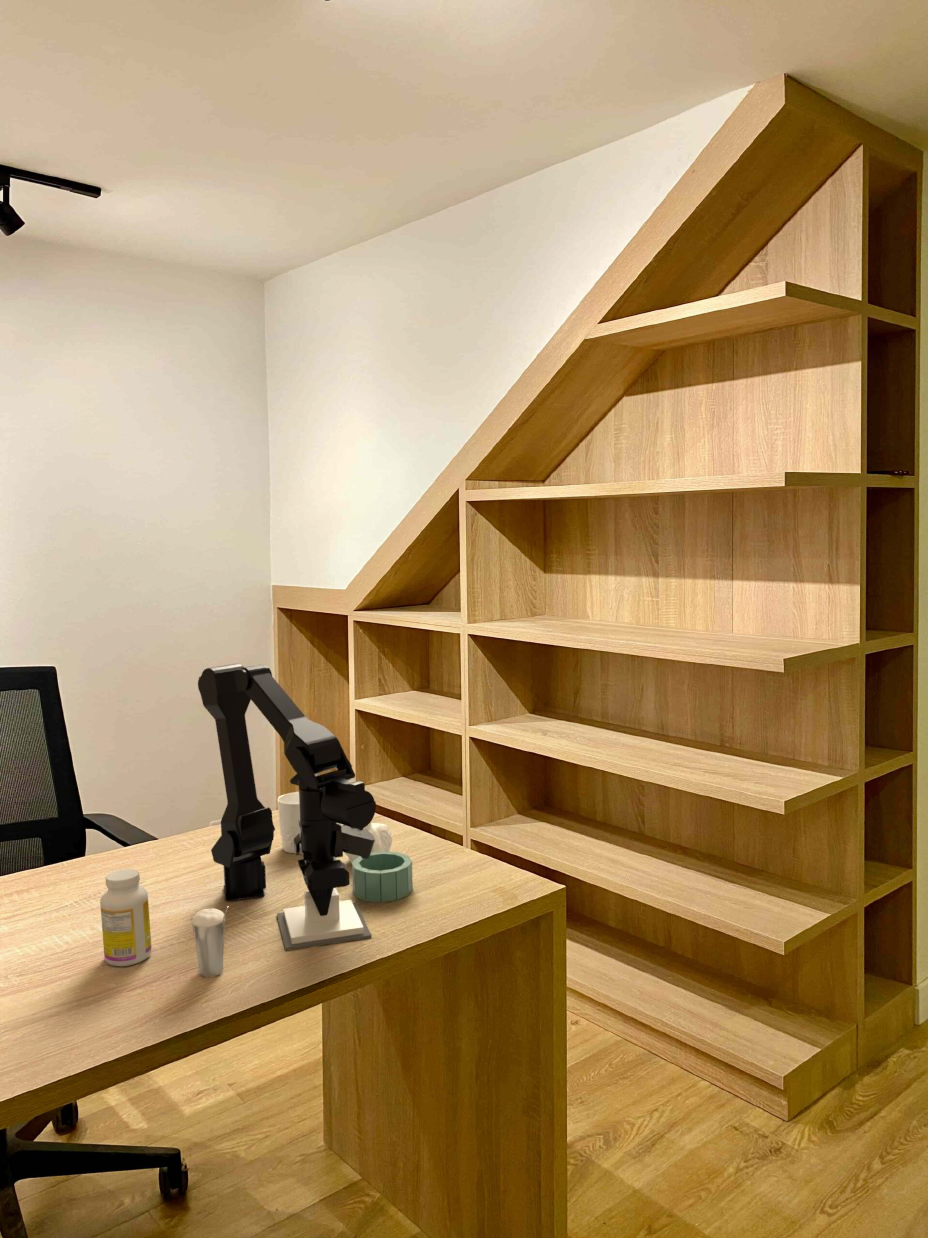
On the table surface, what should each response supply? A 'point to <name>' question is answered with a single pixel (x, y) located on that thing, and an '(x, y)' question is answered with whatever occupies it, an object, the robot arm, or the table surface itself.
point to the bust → (377, 838)
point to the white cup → (289, 819)
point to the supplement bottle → (125, 919)
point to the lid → (322, 920)
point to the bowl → (382, 876)
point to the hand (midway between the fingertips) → (322, 911)
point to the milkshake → (209, 941)
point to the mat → (324, 941)
